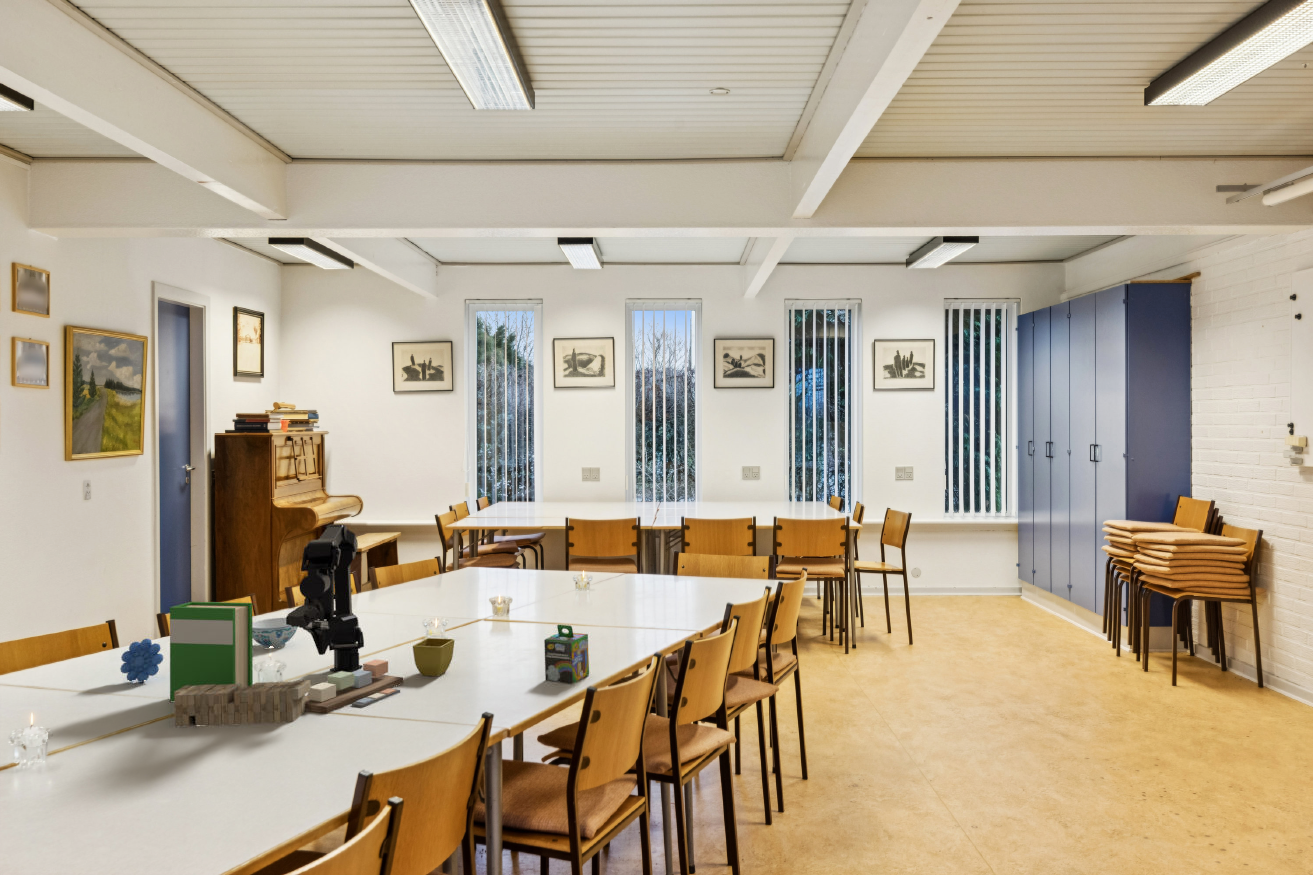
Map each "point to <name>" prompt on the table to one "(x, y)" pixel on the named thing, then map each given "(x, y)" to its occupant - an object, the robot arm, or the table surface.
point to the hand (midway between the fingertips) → (321, 654)
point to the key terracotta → (376, 667)
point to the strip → (375, 697)
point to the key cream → (322, 692)
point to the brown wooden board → (353, 694)
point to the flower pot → (433, 656)
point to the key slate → (362, 678)
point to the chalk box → (566, 656)
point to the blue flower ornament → (141, 660)
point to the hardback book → (210, 644)
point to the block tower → (240, 703)
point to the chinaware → (272, 632)
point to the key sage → (341, 679)
